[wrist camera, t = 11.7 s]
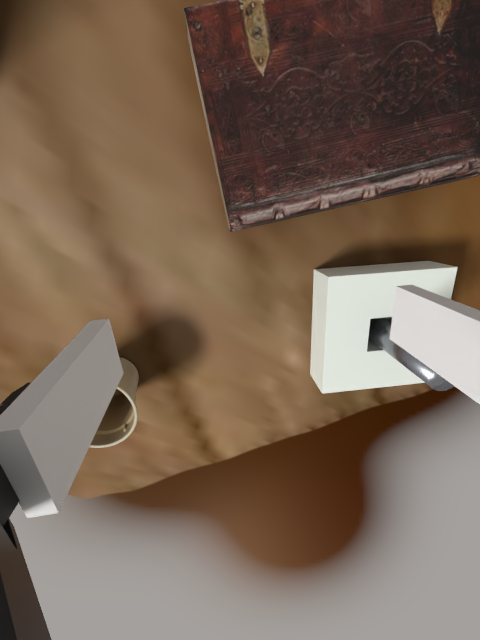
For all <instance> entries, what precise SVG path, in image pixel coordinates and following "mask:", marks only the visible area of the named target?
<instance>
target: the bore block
mask: <svg viewBox="0 0 480 640" xmlns="http://www.w3.org/2000/svg"><path fill="white" fill-rule="evenodd" d="M457 268H458V267H455V266H451V265H446V264H441V263H437V262H432V261H418V262H404V263H391V264H377V265H364V266H351V267H337V268H324V269H314V281H313V310H312V338H311V367H310V375H311V376H312V378H313V380H314V381H315V383H316V384H317V386H318V388H319V389H320V391H321V392H322V394H323V393H332V392H341V391H351V390H360V389H369V388H379V387H388V386H397V385H406V384H416V383H425V382H424V381H423V380H421V379H420V378H419V377H417V376H416V375H415V374H414V373H412V372H411V371H410V370H409V369H407V368H406V367H405V366H403V365H402V364H401V363H400V362H398V361H397V360H396V359H394V358H393V357H392V356H391V355H389V354H388V353H387V352H386V351H384V350H383V349H382V348H380V347H379V346H378V345H377V344H375V343H374V342H373V341H371V340H370V339H369V338H368V337H369V328H370V319H373V318H386V319H388V320H389V321H391V322H392V315H393V308H394V300H395V293H396V286H403V285H414V286H417V287H420V288H422V289H425V290H427V291H430V292H433V293H435V294H438V295H440V296H443V297H446V298H448V299H451V297H452V292H453V287H454V282H455V277H456V273H457Z"/></svg>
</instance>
